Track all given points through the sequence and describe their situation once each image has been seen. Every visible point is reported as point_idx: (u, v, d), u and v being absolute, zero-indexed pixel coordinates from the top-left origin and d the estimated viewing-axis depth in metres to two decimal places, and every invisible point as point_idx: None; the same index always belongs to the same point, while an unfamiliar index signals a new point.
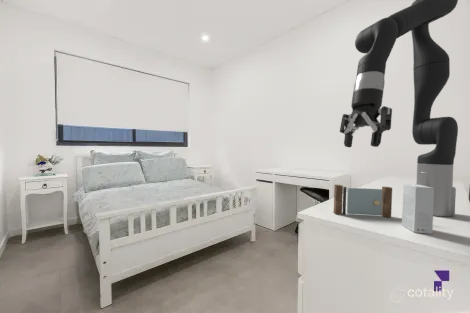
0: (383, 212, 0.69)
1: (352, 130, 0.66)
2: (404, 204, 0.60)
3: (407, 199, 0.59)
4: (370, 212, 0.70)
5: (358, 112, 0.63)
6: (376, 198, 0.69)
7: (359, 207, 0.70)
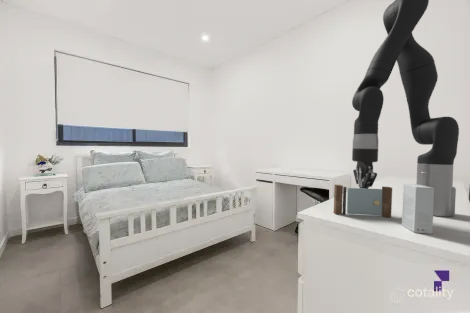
0: (383, 212, 0.69)
1: None
2: (404, 204, 0.60)
3: (407, 199, 0.59)
4: (370, 212, 0.70)
5: (359, 165, 0.74)
6: (376, 198, 0.69)
7: (359, 207, 0.70)
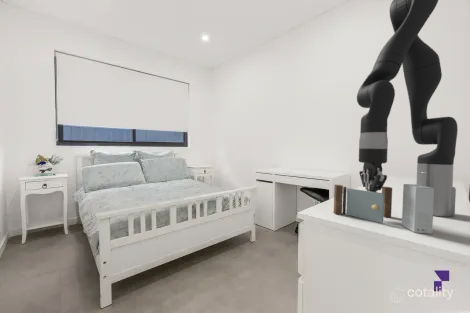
0: None
1: None
2: (404, 204, 0.60)
3: (407, 199, 0.59)
4: (369, 216, 0.65)
5: (366, 166, 0.68)
6: (376, 202, 0.63)
7: (358, 209, 0.67)
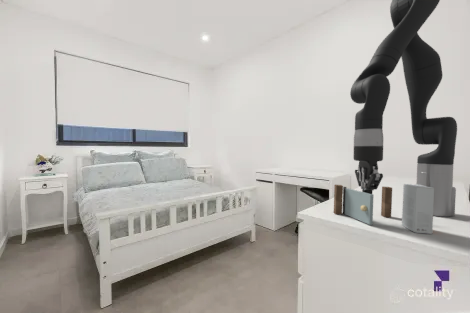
0: (383, 212, 0.69)
1: None
2: (404, 204, 0.60)
3: (407, 199, 0.59)
4: (360, 217, 0.63)
5: (361, 165, 0.65)
6: (365, 203, 0.62)
7: (352, 210, 0.67)
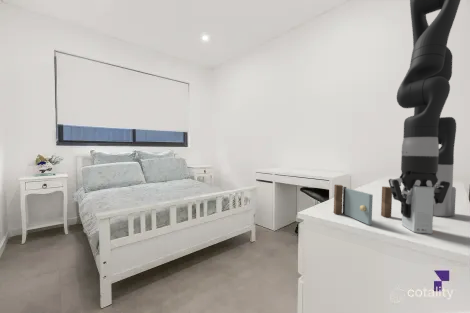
0: (383, 212, 0.69)
1: None
2: None
3: None
4: (359, 217, 0.63)
5: None
6: (364, 203, 0.62)
7: (352, 210, 0.67)
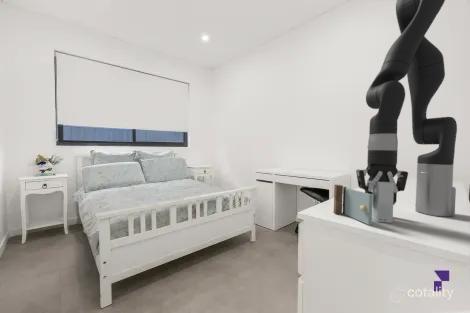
0: None
1: None
2: None
3: None
4: (359, 217, 0.63)
5: None
6: (364, 203, 0.62)
7: (352, 210, 0.67)
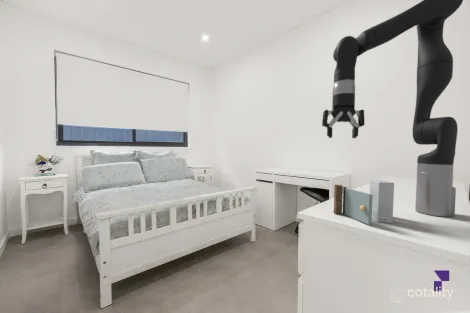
0: None
1: None
2: None
3: (372, 193, 0.67)
4: (359, 217, 0.63)
5: None
6: (364, 203, 0.62)
7: (352, 210, 0.67)
